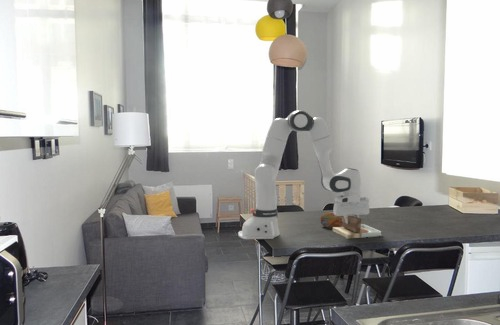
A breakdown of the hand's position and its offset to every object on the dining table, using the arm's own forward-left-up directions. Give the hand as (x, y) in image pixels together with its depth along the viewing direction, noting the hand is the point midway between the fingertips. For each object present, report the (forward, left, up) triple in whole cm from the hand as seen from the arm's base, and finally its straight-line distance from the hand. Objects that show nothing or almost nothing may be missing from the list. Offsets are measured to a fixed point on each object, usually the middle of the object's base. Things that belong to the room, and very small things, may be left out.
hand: (351, 223), depth 193 cm
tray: (+7, 0, -6) cm, 9 cm away
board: (-3, 0, -6) cm, 7 cm away
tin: (-2, +18, -6) cm, 19 cm away
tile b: (+3, -4, -5) cm, 7 cm away
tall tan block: (0, 0, -3) cm, 3 cm away
